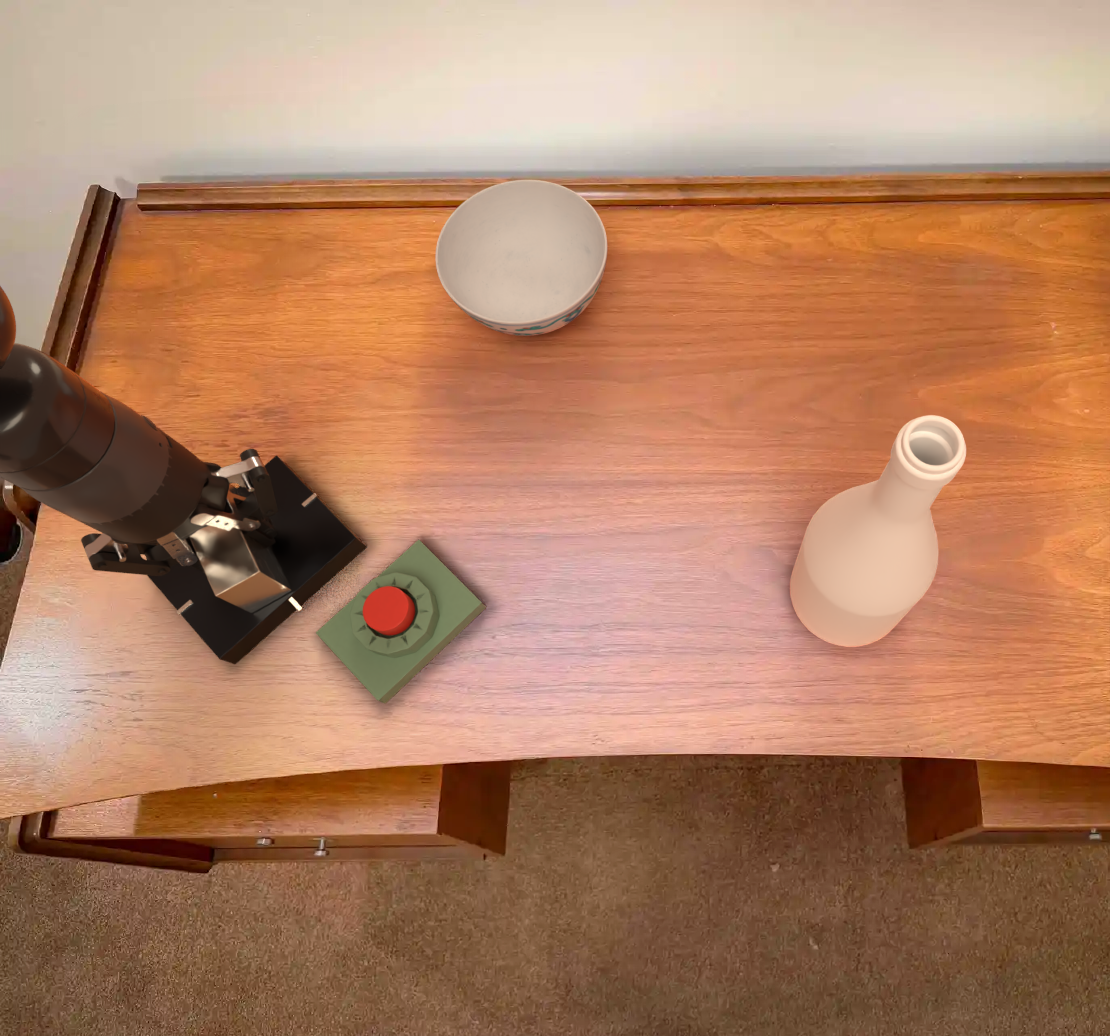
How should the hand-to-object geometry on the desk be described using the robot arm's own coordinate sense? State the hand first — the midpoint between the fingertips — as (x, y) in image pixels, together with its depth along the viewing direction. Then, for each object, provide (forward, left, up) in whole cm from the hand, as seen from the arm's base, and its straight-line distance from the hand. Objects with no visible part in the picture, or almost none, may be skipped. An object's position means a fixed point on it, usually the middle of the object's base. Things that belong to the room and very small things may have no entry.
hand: (243, 548), depth 71 cm
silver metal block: (0, 0, -1) cm, 1 cm away
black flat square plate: (0, 0, -3) cm, 3 cm away
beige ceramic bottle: (+32, -38, -4) cm, 50 cm away
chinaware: (+34, +2, -4) cm, 34 cm away
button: (+5, -13, 0) cm, 14 cm away
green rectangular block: (+5, -13, -3) cm, 14 cm away
